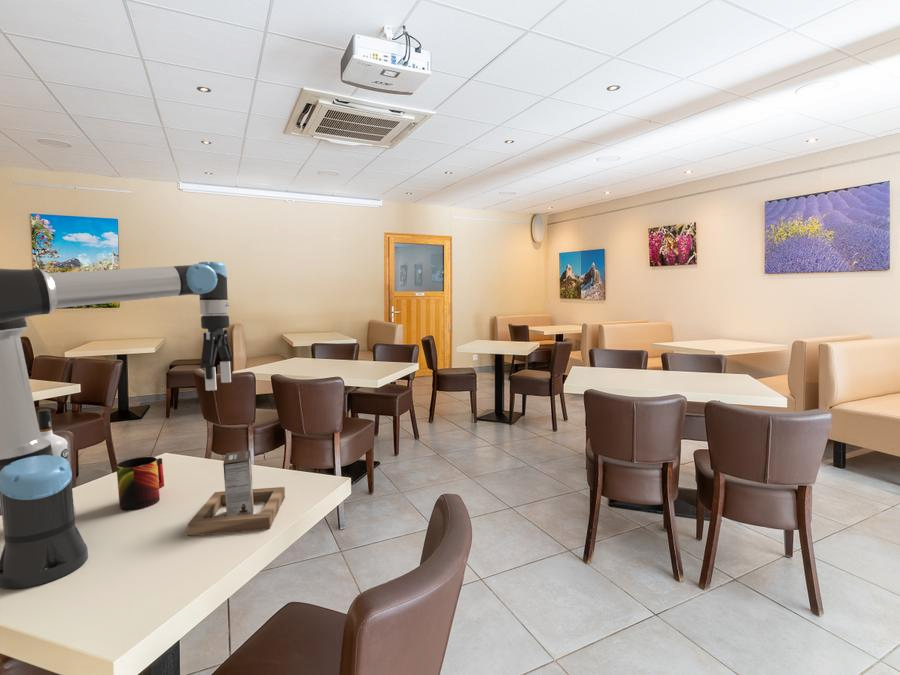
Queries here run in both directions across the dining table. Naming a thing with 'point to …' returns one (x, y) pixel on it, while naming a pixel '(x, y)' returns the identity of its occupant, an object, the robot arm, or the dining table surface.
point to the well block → (210, 525)
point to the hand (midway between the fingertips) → (219, 386)
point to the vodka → (52, 436)
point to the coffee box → (238, 483)
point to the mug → (139, 482)
